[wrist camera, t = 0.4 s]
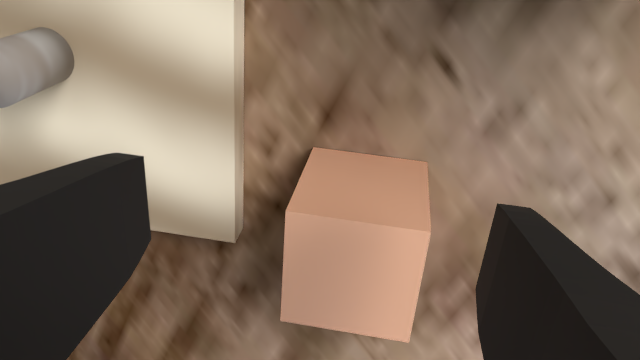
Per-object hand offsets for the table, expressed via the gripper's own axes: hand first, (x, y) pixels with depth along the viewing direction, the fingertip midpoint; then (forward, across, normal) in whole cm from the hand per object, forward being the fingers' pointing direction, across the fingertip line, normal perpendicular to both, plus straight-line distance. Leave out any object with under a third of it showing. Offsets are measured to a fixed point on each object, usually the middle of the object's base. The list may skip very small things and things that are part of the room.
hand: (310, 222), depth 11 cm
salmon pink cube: (+10, -1, +5) cm, 11 cm away
